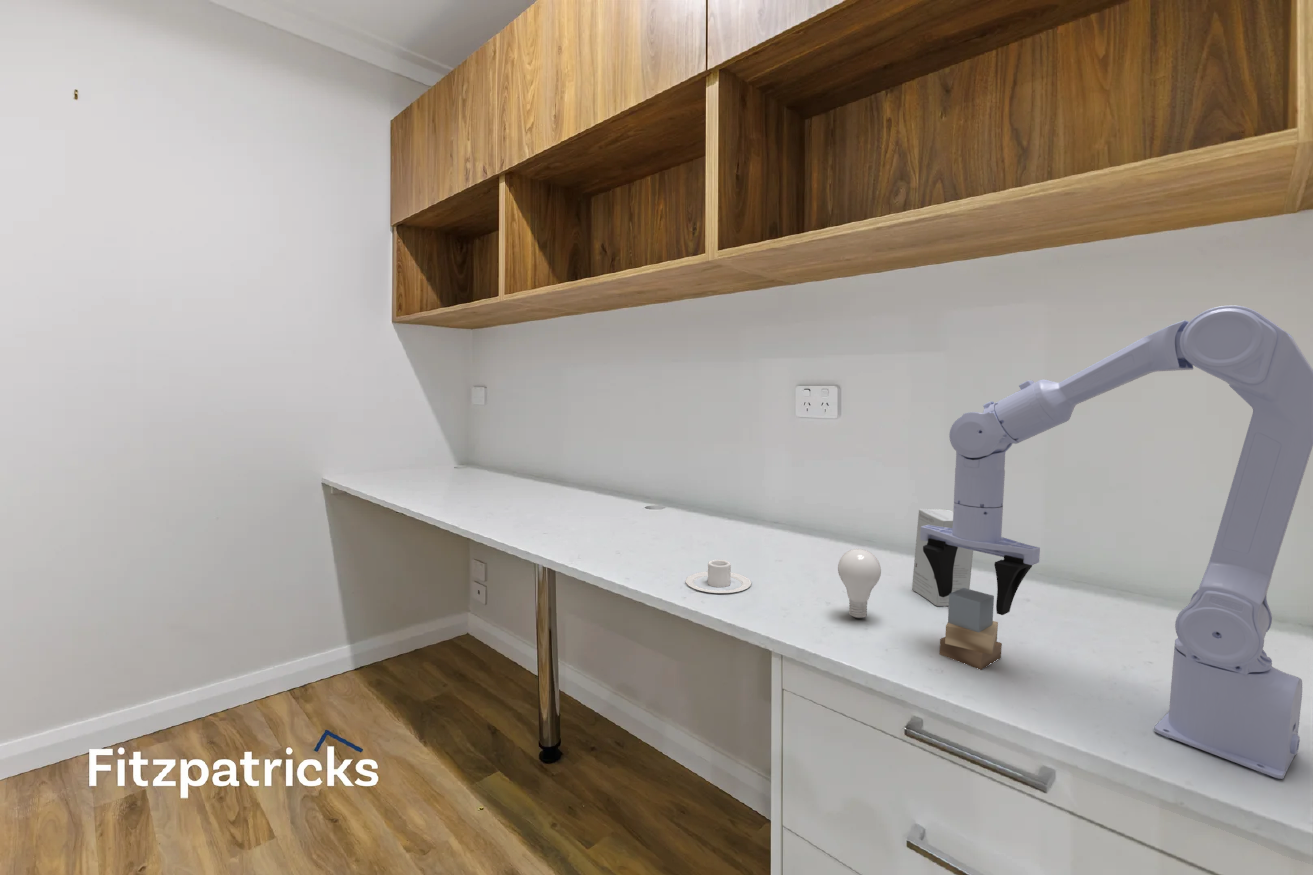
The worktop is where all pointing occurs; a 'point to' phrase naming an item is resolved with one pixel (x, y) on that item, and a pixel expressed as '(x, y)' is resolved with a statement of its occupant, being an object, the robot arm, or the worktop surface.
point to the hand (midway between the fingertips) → (972, 603)
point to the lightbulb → (859, 579)
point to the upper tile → (972, 638)
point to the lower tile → (970, 654)
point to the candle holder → (719, 577)
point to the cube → (970, 609)
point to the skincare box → (922, 568)
